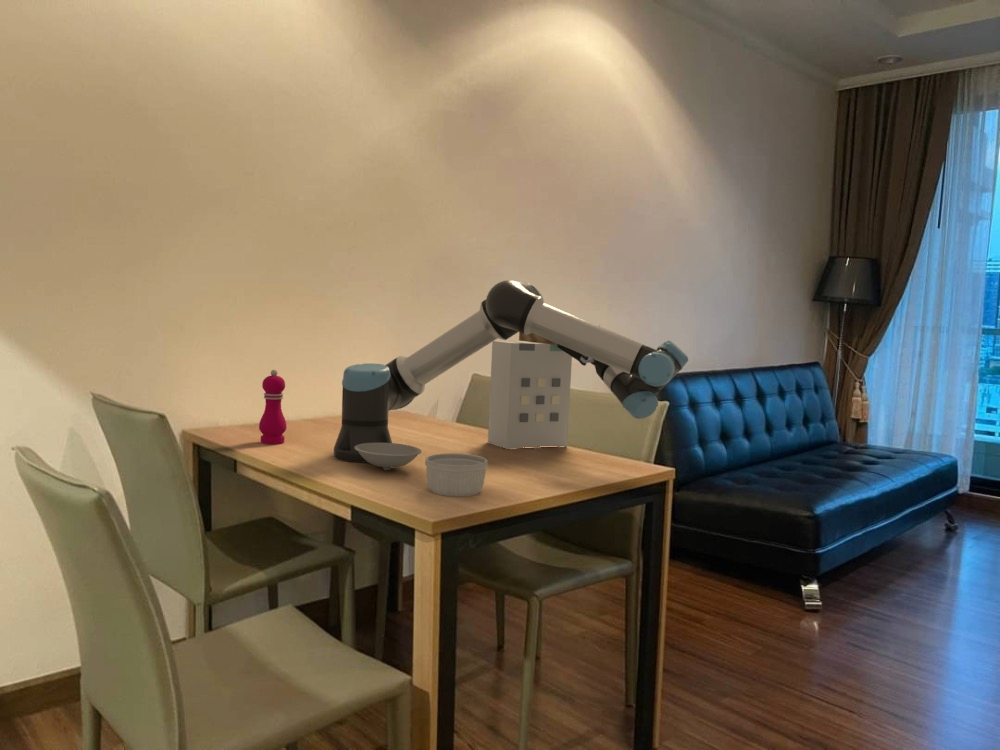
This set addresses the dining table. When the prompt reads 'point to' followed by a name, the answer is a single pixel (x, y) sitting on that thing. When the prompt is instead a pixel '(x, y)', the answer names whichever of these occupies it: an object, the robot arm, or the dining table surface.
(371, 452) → the dish
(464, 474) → the ramekin
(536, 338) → the walnut rod
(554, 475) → the dining table surface
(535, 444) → the tall patterned block
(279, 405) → the pepper mill
